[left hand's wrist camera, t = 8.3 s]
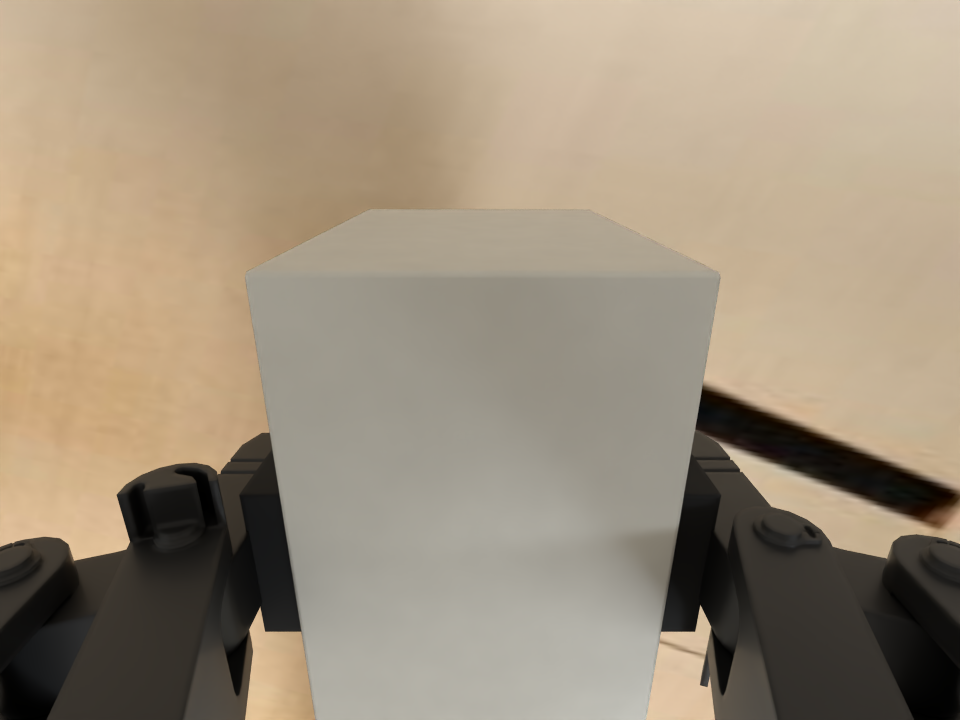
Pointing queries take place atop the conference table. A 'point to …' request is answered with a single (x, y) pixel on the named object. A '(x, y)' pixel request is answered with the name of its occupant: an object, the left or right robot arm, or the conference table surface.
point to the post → (481, 456)
